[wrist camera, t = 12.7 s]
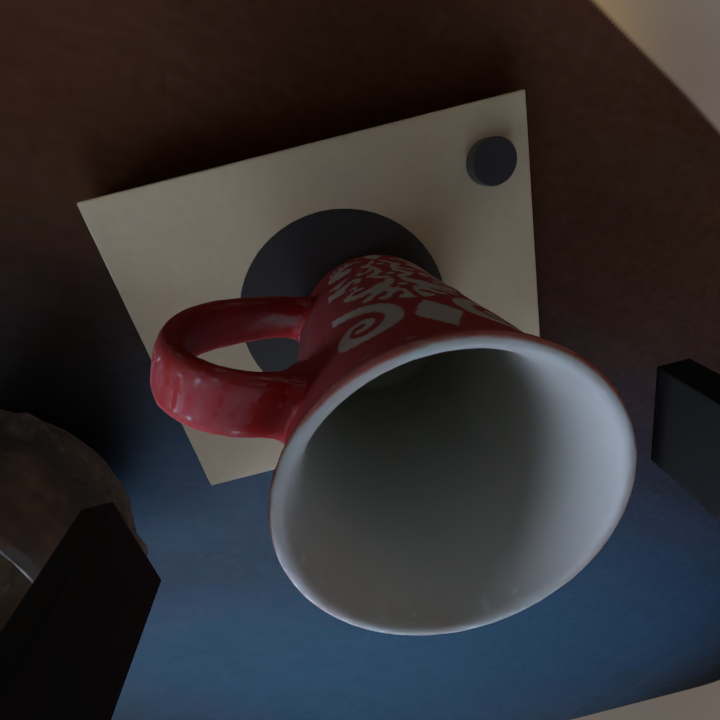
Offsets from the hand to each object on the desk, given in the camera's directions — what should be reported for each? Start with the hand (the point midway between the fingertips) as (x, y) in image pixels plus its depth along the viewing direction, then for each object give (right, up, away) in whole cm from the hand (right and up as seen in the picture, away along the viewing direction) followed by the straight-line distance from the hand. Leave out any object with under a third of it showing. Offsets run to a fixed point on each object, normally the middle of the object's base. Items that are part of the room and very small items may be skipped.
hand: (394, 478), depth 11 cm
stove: (-2, +6, +14) cm, 15 cm away
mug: (-2, +5, +12) cm, 13 cm away
